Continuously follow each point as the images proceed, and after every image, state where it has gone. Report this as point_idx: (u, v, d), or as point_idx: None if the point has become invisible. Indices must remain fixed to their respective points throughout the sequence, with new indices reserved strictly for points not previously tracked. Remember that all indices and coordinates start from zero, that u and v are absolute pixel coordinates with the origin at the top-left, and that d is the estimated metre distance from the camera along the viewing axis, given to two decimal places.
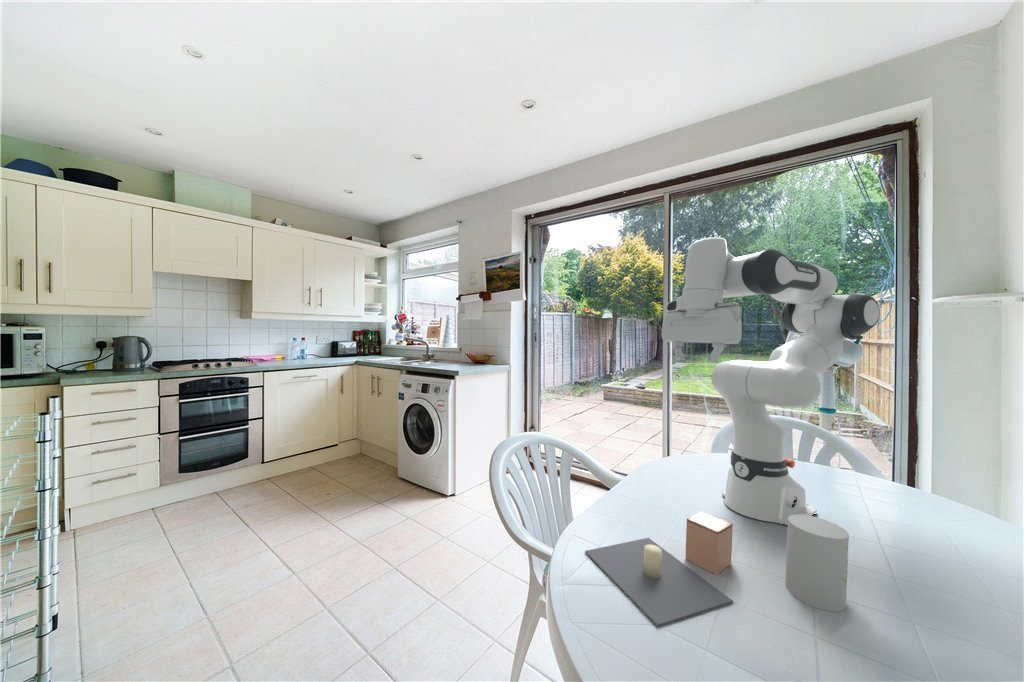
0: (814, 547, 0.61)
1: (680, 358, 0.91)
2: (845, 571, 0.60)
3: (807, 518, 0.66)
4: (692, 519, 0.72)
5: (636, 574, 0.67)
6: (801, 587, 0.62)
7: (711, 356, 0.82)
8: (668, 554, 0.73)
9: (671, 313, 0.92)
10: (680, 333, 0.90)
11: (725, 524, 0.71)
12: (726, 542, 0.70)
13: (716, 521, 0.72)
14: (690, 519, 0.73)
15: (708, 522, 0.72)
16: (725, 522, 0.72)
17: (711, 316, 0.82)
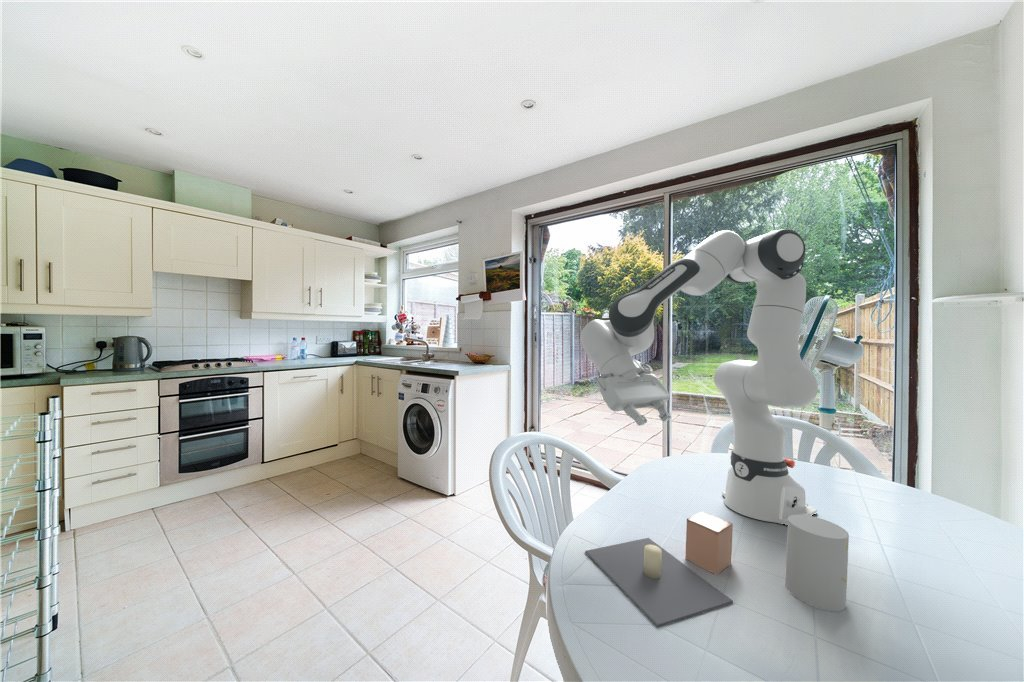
0: (814, 547, 0.61)
1: (663, 419, 0.85)
2: (845, 571, 0.60)
3: (807, 518, 0.66)
4: (692, 519, 0.72)
5: (636, 574, 0.67)
6: (801, 587, 0.62)
7: None
8: (668, 554, 0.73)
9: None
10: None
11: (725, 524, 0.71)
12: (726, 542, 0.70)
13: (716, 521, 0.72)
14: (690, 519, 0.73)
15: (708, 522, 0.72)
16: (725, 522, 0.72)
17: None
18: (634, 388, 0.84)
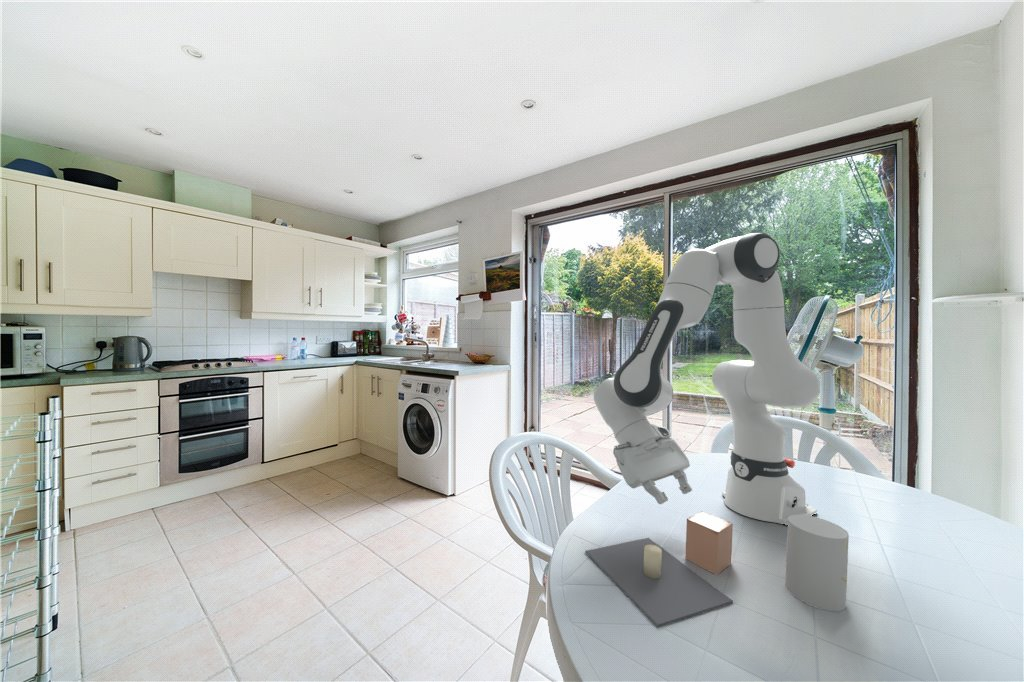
0: (814, 547, 0.61)
1: (683, 492, 0.80)
2: (845, 571, 0.60)
3: (807, 518, 0.66)
4: (692, 519, 0.72)
5: (636, 574, 0.67)
6: (801, 587, 0.62)
7: None
8: (668, 554, 0.73)
9: None
10: None
11: (725, 524, 0.71)
12: (726, 542, 0.70)
13: (716, 521, 0.72)
14: (690, 519, 0.73)
15: (708, 522, 0.72)
16: (725, 522, 0.72)
17: None
18: (653, 460, 0.80)
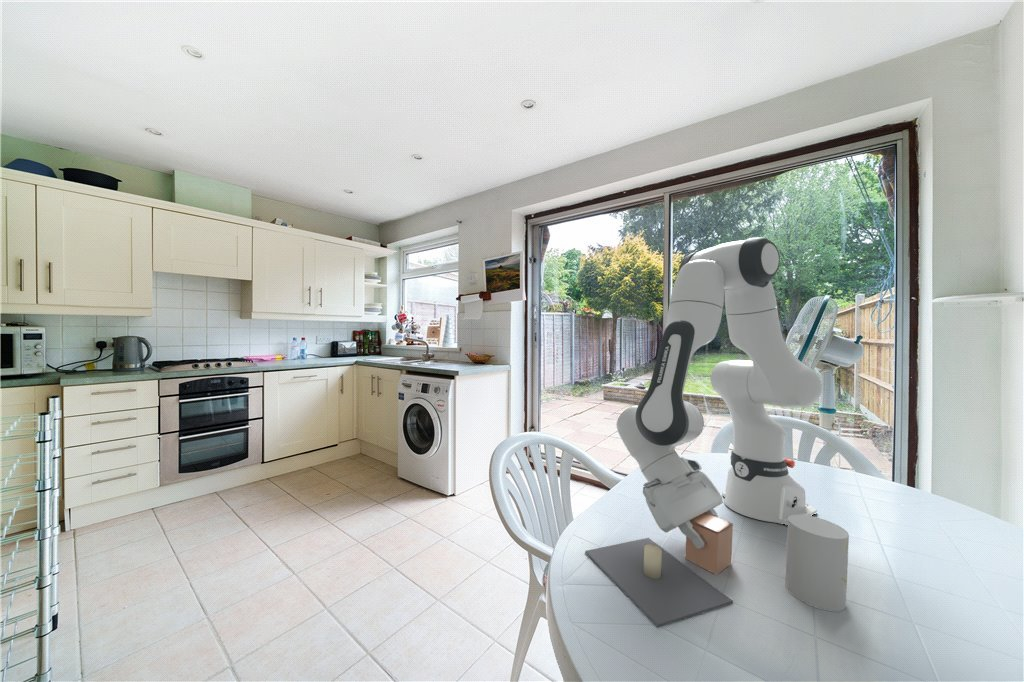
0: (814, 547, 0.61)
1: None
2: (845, 571, 0.60)
3: (807, 518, 0.66)
4: (692, 519, 0.72)
5: (636, 574, 0.67)
6: (801, 587, 0.62)
7: None
8: (668, 554, 0.73)
9: None
10: None
11: (725, 524, 0.71)
12: (726, 542, 0.70)
13: (716, 521, 0.72)
14: None
15: (708, 522, 0.72)
16: (725, 522, 0.72)
17: None
18: (686, 499, 0.74)
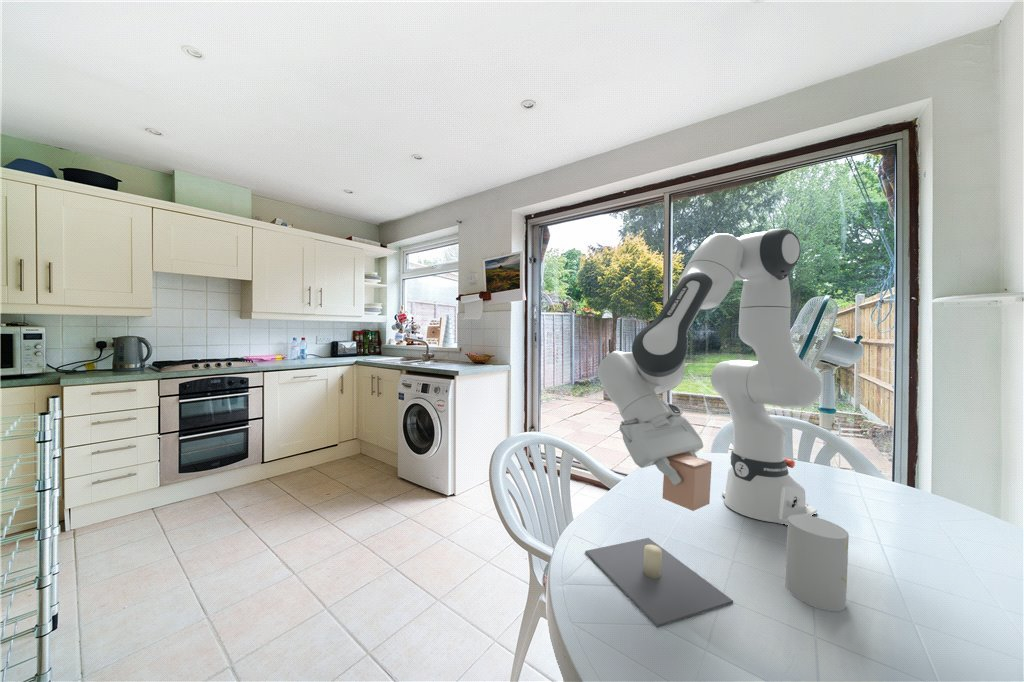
0: (814, 547, 0.61)
1: None
2: (845, 571, 0.60)
3: (807, 518, 0.66)
4: (670, 457, 0.70)
5: (636, 574, 0.67)
6: (801, 587, 0.62)
7: None
8: (668, 554, 0.73)
9: None
10: None
11: (703, 461, 0.69)
12: (704, 479, 0.68)
13: (695, 459, 0.70)
14: (668, 457, 0.70)
15: (686, 460, 0.69)
16: (704, 460, 0.69)
17: None
18: (664, 438, 0.72)
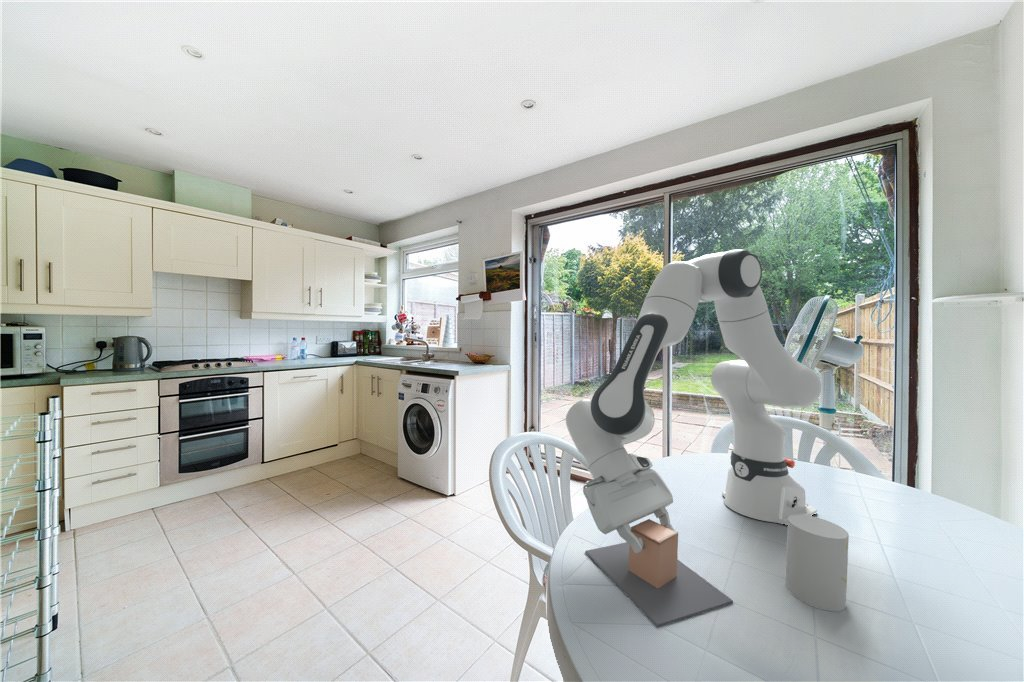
0: (813, 547, 0.61)
1: None
2: (845, 571, 0.60)
3: (807, 518, 0.66)
4: (635, 528, 0.68)
5: None
6: (801, 587, 0.62)
7: None
8: None
9: None
10: None
11: (669, 533, 0.66)
12: (670, 553, 0.65)
13: (661, 530, 0.67)
14: (633, 528, 0.68)
15: (652, 531, 0.67)
16: (670, 531, 0.67)
17: None
18: (630, 498, 0.69)
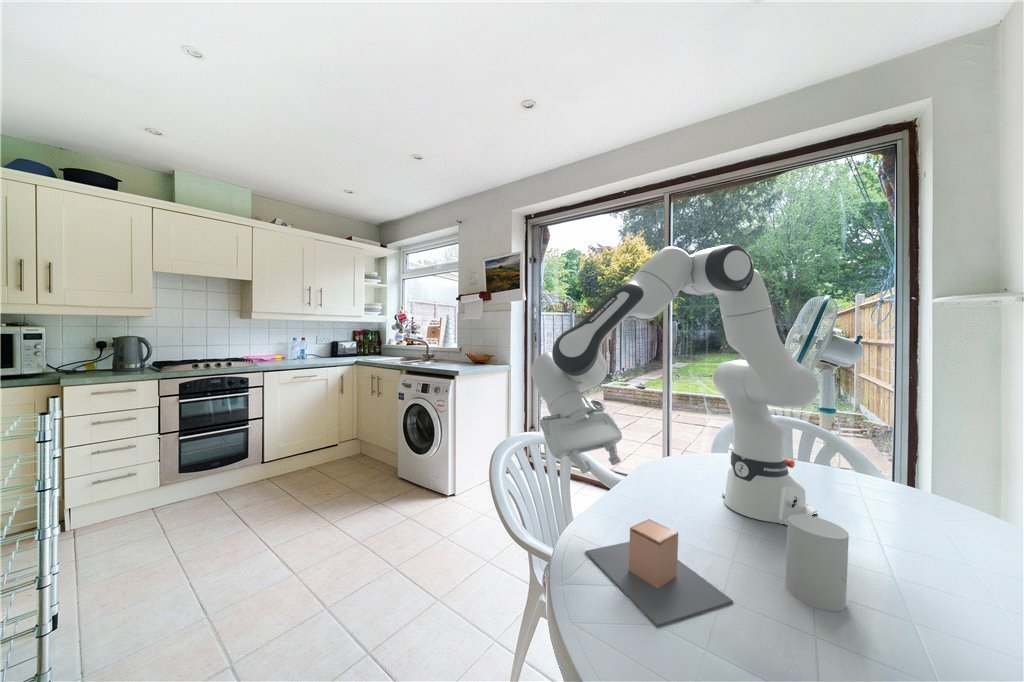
0: (813, 547, 0.61)
1: (612, 463, 0.80)
2: (845, 571, 0.60)
3: (807, 518, 0.66)
4: (635, 528, 0.68)
5: None
6: (801, 587, 0.62)
7: None
8: None
9: None
10: None
11: (669, 533, 0.66)
12: (670, 553, 0.65)
13: (661, 530, 0.67)
14: (633, 528, 0.68)
15: (652, 531, 0.67)
16: (670, 531, 0.67)
17: None
18: (581, 431, 0.79)
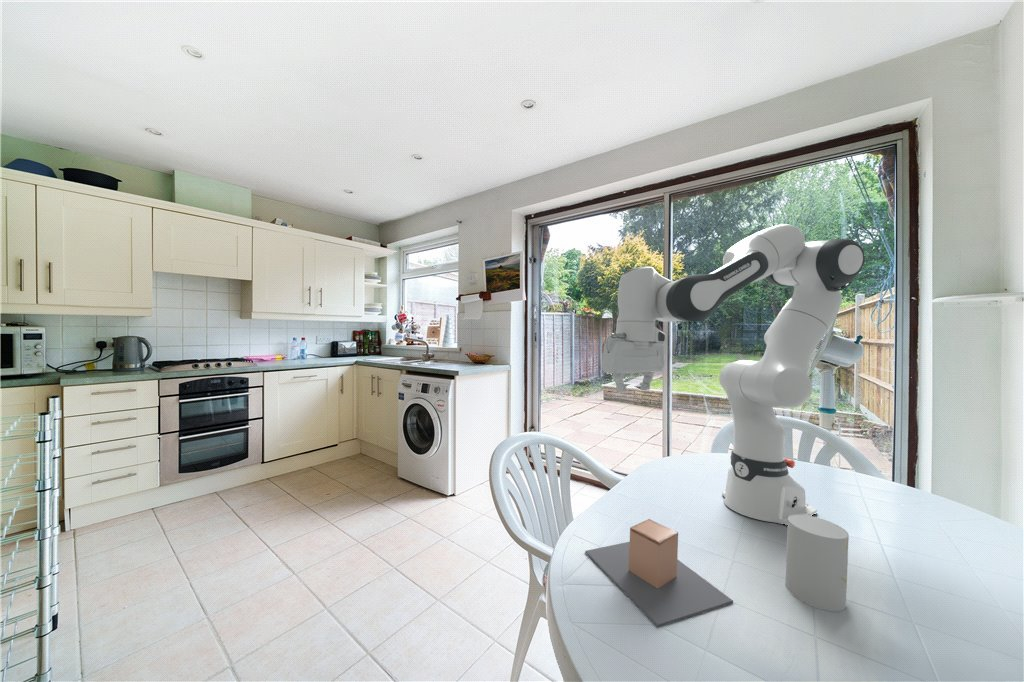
0: (813, 547, 0.61)
1: (641, 388, 0.91)
2: (845, 571, 0.60)
3: (807, 518, 0.66)
4: (635, 528, 0.68)
5: None
6: (801, 587, 0.62)
7: None
8: None
9: None
10: None
11: (669, 533, 0.66)
12: (670, 553, 0.65)
13: (661, 530, 0.67)
14: (633, 528, 0.68)
15: (652, 531, 0.67)
16: (670, 531, 0.67)
17: None
18: (635, 358, 0.86)
